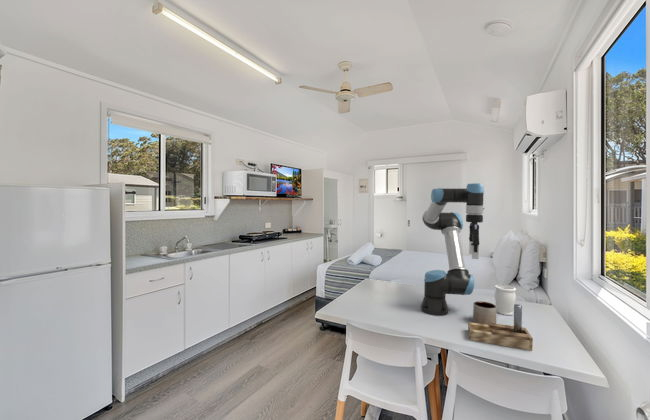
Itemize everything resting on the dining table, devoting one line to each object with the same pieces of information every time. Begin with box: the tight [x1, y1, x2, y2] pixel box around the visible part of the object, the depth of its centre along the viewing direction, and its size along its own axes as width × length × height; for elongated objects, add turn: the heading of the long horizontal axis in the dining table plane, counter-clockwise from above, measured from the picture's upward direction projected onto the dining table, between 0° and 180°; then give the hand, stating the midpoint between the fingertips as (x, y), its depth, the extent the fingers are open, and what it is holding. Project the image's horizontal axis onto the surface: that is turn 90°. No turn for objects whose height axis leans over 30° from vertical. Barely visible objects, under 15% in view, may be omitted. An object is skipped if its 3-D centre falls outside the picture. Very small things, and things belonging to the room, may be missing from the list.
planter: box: [472, 300, 497, 325], centre depth 151 cm, size 11×11×10 cm
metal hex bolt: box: [513, 303, 523, 333], centre depth 129 cm, size 5×5×16 cm
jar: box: [494, 284, 517, 316], centre depth 165 cm, size 11×10×15 cm
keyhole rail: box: [467, 321, 534, 351], centre depth 132 cm, size 24×11×5 cm, turn 68°
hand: (473, 256), depth 143 cm, fingers open, 13 cm apart
